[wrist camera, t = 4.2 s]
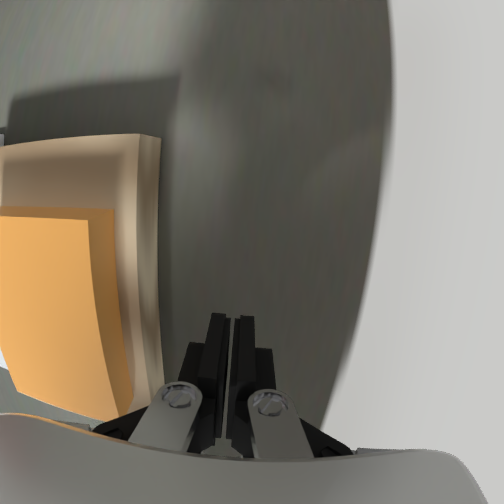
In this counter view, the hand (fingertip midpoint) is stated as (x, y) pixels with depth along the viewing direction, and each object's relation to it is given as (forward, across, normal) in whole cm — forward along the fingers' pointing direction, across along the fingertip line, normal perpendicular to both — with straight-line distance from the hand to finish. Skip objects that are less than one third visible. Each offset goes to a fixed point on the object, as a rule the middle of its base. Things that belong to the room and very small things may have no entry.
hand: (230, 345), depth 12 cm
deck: (+4, +10, 0) cm, 10 cm away
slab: (+1, +9, 0) cm, 9 cm away
